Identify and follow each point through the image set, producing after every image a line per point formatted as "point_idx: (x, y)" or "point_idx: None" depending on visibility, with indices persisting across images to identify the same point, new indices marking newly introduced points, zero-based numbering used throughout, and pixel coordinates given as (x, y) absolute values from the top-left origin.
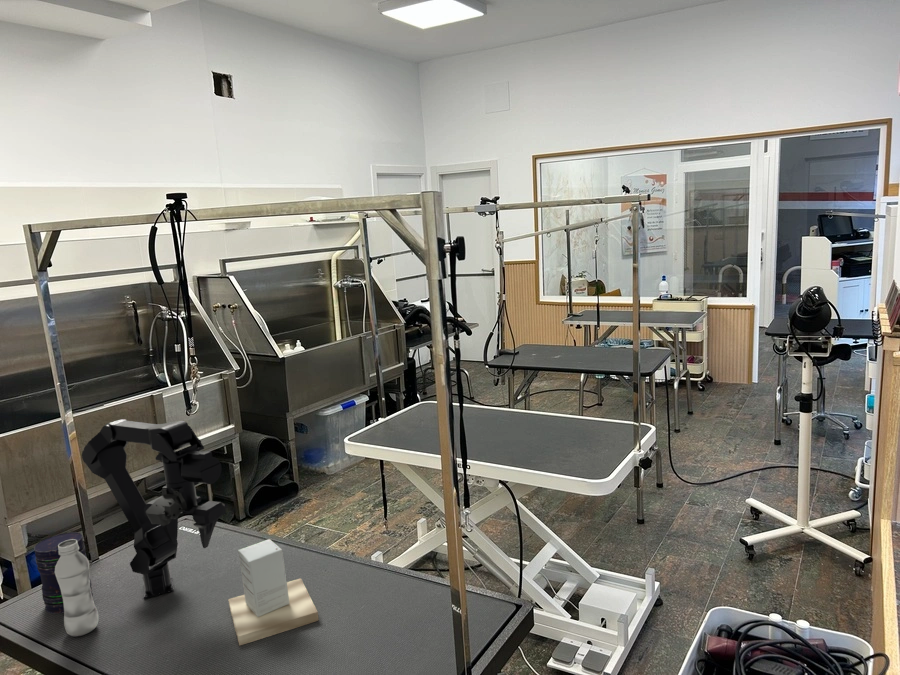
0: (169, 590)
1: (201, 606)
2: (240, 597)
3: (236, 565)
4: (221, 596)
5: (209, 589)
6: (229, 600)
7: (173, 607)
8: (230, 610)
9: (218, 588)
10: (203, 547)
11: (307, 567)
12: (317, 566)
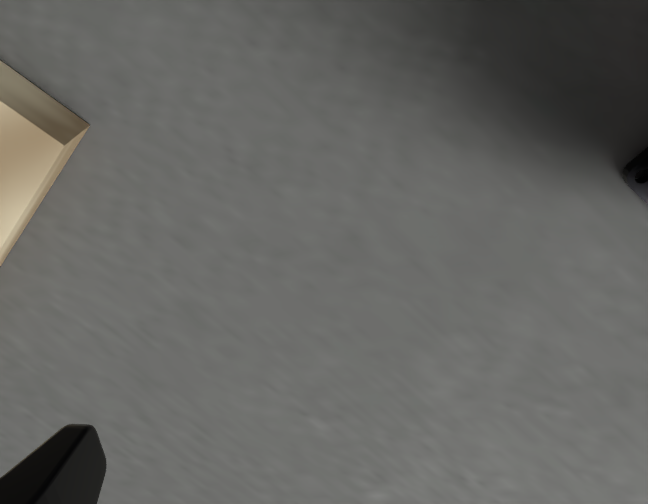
0: (643, 157)
1: (278, 82)
2: (10, 183)
3: (414, 447)
4: (247, 207)
5: (384, 247)
6: (41, 134)
7: (473, 9)
8: (27, 88)
9: (336, 267)
10: (74, 431)
11: None
12: None
